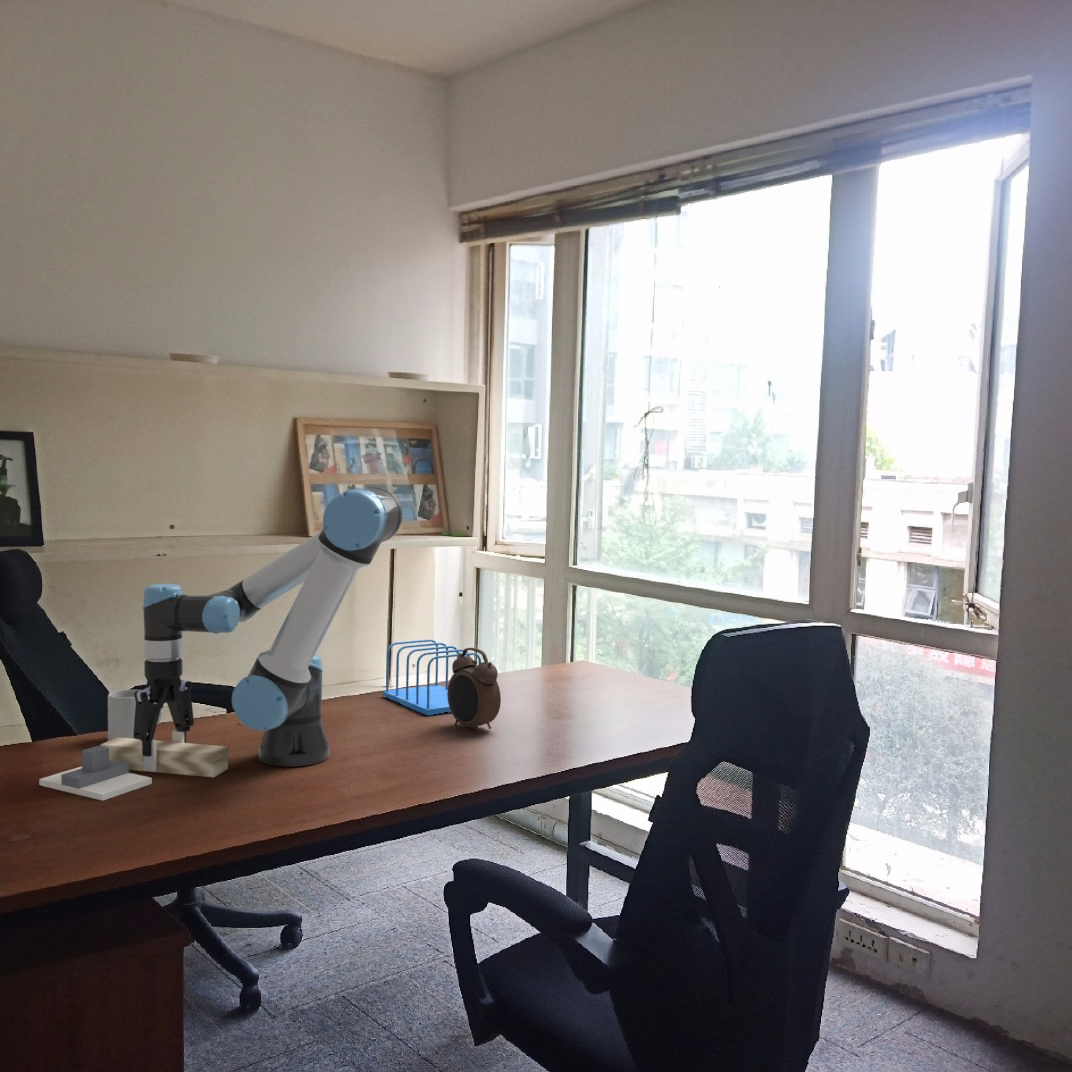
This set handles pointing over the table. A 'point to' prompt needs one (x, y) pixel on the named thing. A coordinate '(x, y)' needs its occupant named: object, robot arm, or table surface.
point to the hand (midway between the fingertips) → (164, 765)
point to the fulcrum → (97, 776)
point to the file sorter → (417, 697)
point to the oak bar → (172, 756)
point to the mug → (122, 714)
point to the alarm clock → (473, 691)
